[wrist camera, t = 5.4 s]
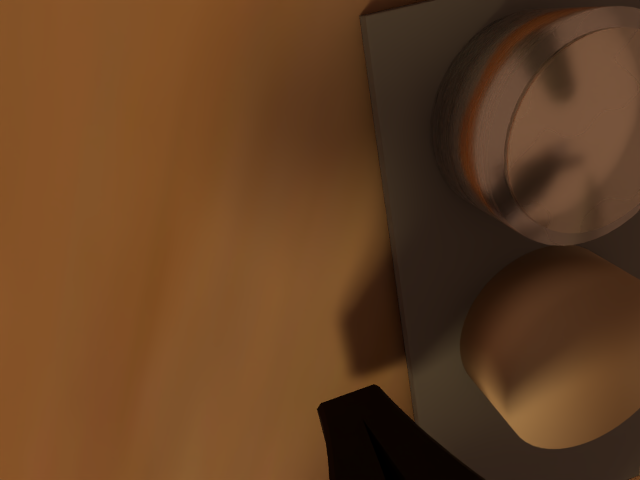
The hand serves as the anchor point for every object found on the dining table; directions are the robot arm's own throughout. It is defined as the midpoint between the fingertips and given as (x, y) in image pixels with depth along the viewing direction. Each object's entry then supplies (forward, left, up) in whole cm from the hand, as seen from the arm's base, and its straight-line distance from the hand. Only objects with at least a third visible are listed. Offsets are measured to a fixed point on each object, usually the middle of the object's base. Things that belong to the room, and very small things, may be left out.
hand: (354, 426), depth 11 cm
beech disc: (+5, 0, -1) cm, 6 cm away
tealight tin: (+5, +5, -1) cm, 7 cm away
